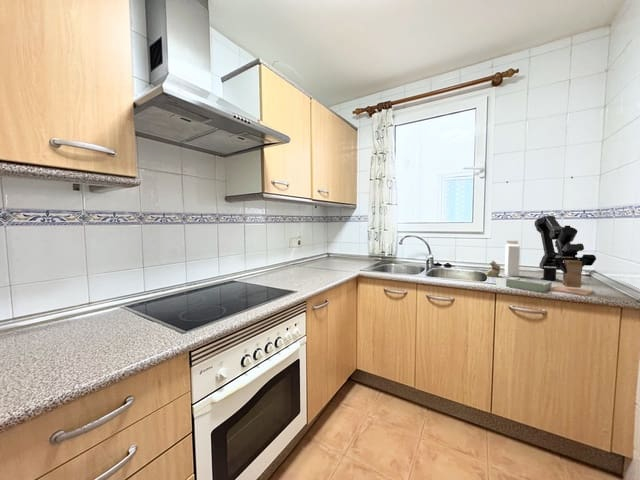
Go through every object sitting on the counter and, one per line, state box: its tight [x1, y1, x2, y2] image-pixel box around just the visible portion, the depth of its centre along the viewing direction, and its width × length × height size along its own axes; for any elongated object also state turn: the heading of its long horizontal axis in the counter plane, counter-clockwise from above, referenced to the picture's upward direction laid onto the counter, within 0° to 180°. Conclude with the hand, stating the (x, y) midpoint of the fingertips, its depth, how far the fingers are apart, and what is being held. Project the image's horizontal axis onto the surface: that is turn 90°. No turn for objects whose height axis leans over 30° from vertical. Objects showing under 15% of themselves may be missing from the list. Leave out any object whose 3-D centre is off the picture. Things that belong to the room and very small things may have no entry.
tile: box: [548, 284, 595, 297], centre depth 128 cm, size 13×13×1 cm
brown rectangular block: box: [562, 260, 583, 288], centre depth 127 cm, size 5×5×12 cm
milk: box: [504, 240, 521, 278], centre depth 166 cm, size 6×6×22 cm
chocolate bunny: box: [485, 260, 501, 278], centre depth 166 cm, size 6×8×10 cm
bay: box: [505, 277, 553, 293], centre depth 137 cm, size 14×15×4 cm
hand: (573, 273), depth 126 cm, fingers closed on brown rectangular block, 5 cm apart
